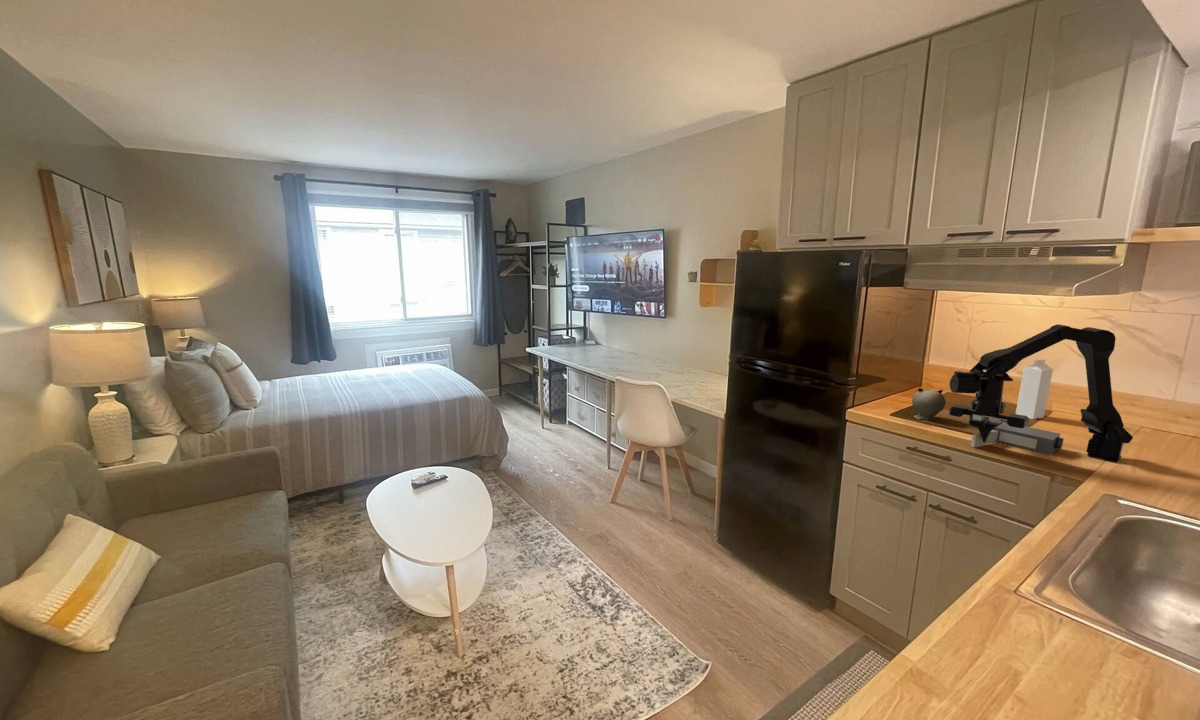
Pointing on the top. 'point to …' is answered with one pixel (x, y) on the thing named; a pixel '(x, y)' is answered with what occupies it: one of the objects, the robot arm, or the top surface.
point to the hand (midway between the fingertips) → (984, 441)
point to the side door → (978, 440)
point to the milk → (1034, 390)
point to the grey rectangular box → (1028, 438)
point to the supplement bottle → (973, 407)
